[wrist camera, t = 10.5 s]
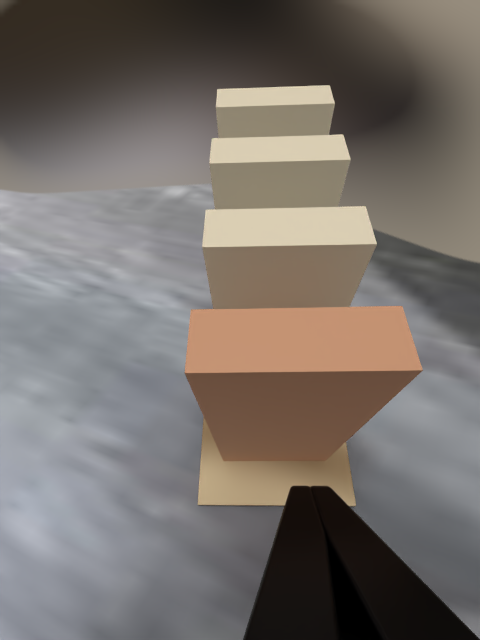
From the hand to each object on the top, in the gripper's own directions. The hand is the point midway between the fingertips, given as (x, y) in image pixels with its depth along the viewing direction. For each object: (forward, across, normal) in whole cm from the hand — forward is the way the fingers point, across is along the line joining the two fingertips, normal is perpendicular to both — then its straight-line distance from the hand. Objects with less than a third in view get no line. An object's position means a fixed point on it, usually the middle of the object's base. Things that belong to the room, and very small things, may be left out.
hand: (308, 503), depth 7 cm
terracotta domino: (+10, 0, +5) cm, 12 cm away
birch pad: (+11, 0, +6) cm, 12 cm away
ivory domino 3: (+14, 0, +3) cm, 14 cm away
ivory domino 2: (+17, 0, -1) cm, 17 cm away
